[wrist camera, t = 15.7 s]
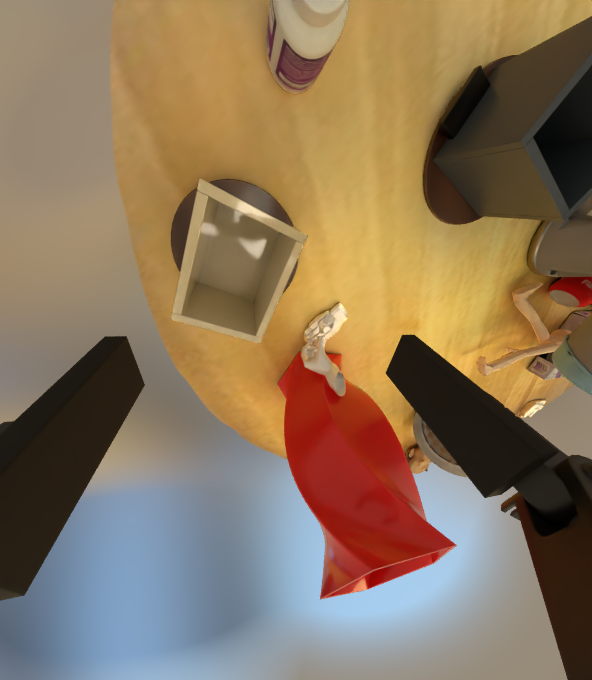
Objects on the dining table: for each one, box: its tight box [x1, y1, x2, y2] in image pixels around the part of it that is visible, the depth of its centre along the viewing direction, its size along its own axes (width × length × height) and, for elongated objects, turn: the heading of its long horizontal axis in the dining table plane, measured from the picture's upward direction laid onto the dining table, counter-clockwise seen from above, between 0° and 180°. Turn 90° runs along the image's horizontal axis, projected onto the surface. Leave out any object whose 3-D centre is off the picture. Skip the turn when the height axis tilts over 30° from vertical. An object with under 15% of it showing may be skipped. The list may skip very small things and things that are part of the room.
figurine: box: [413, 412, 468, 477], centre depth 57 cm, size 18×18×20 cm
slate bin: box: [433, 16, 592, 221], centre depth 22 cm, size 14×9×10 cm, turn 59°
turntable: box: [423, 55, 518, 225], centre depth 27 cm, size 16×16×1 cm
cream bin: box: [171, 178, 308, 343], centre depth 24 cm, size 14×9×10 cm, turn 154°
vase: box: [278, 352, 456, 599], centre depth 32 cm, size 15×14×28 cm
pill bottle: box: [266, 0, 349, 94], centre depth 16 cm, size 5×5×10 cm
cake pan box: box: [527, 311, 592, 380], centre depth 53 cm, size 19×5×18 cm
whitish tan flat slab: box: [520, 399, 547, 418], centre depth 72 cm, size 8×7×2 cm
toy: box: [409, 447, 431, 474], centre depth 71 cm, size 5×12×20 cm
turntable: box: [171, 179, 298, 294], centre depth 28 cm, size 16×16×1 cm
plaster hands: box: [301, 302, 348, 396], centre depth 34 cm, size 15×6×7 cm
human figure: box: [477, 282, 591, 376], centre depth 45 cm, size 20×10×30 cm
